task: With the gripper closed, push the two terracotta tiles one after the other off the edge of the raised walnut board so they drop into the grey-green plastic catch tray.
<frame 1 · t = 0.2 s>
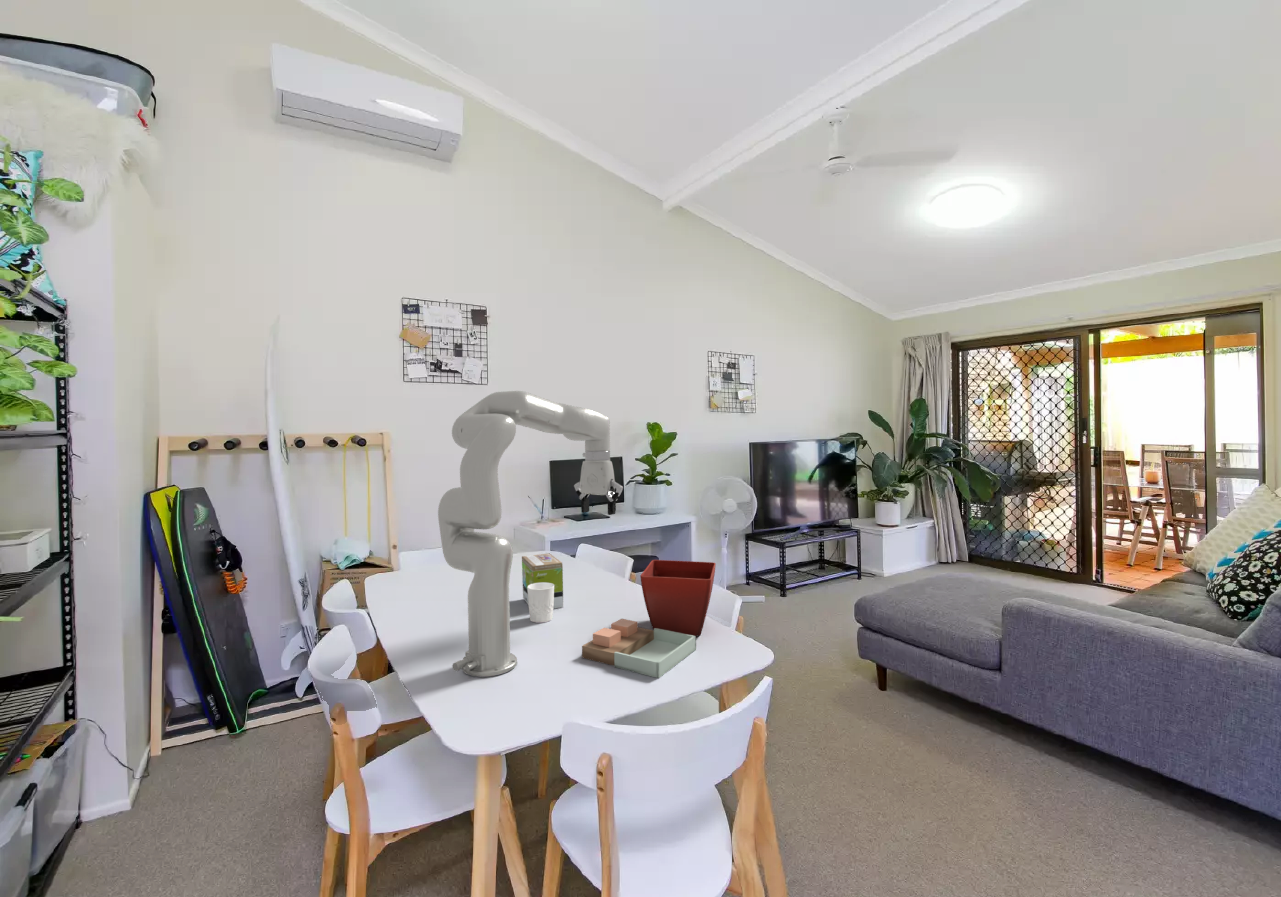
hand: (598, 513, 172), 31 cm above the table, fingers open, 9 cm apart
tray: (656, 658, 139), on the table
tile b: (624, 632, 149), point 3 cm above the table, touching board
board: (619, 649, 145), on the table
plant pot: (679, 628, 161), on the table
tile a: (606, 642, 142), point 3 cm above the table, touching board
white cup: (541, 619, 169), on the table
tea box: (542, 604, 185), on the table
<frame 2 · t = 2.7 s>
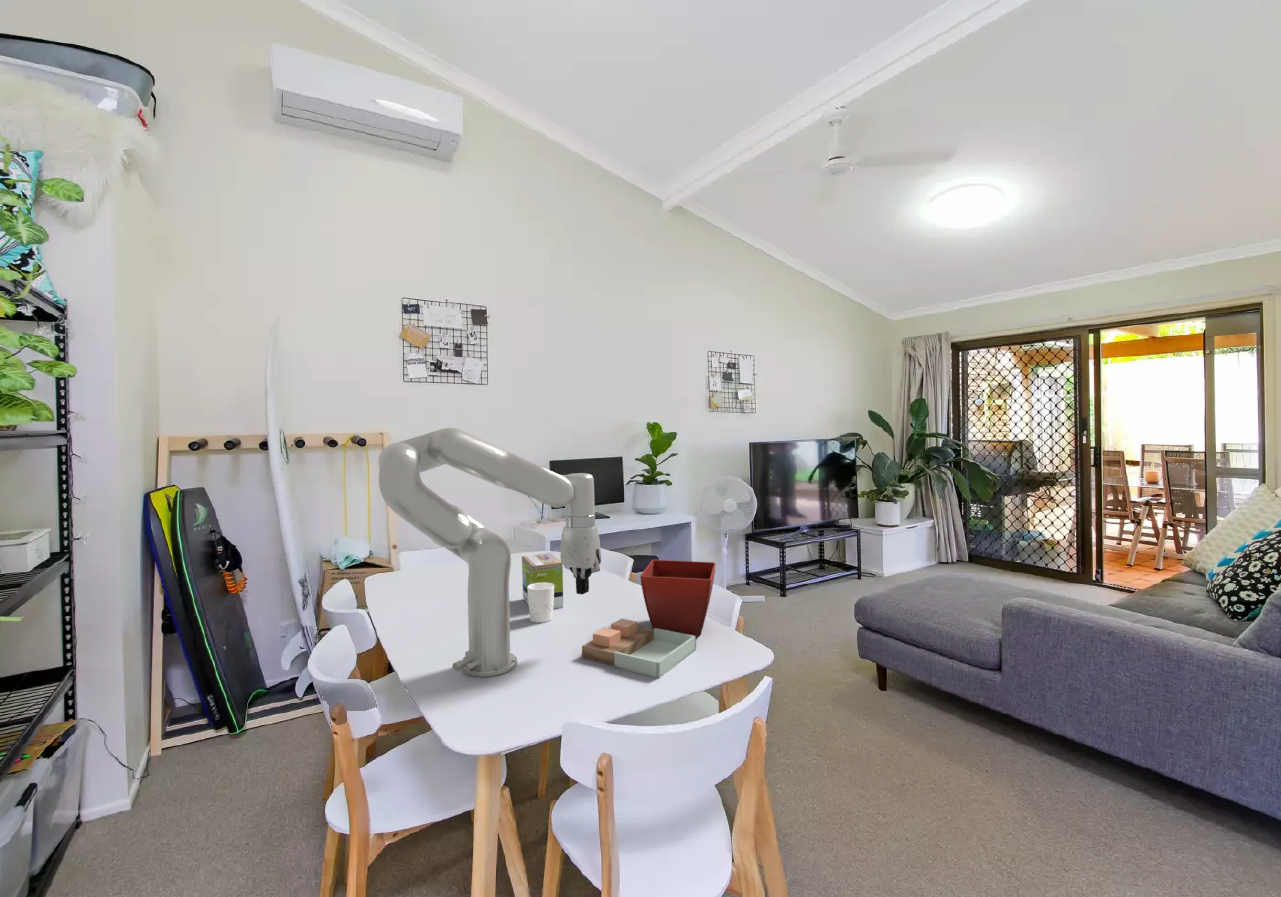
hand: (582, 592, 146), 14 cm above the table, fingers closed
nothing on the table moved.
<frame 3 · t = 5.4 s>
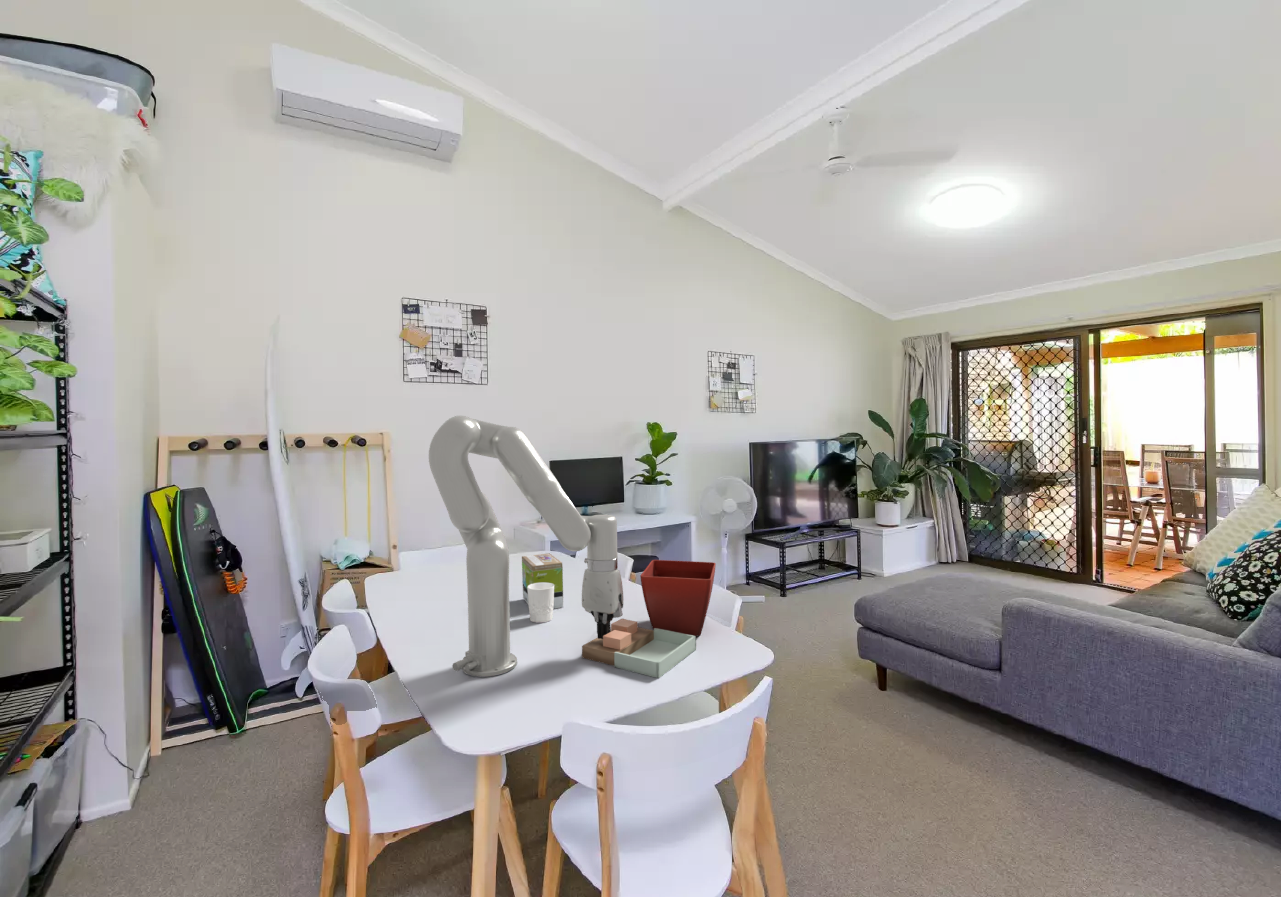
hand: (603, 637, 143), 4 cm above the table, fingers closed
tile a: (617, 644, 140), point 3 cm above the table
everything else where it was.
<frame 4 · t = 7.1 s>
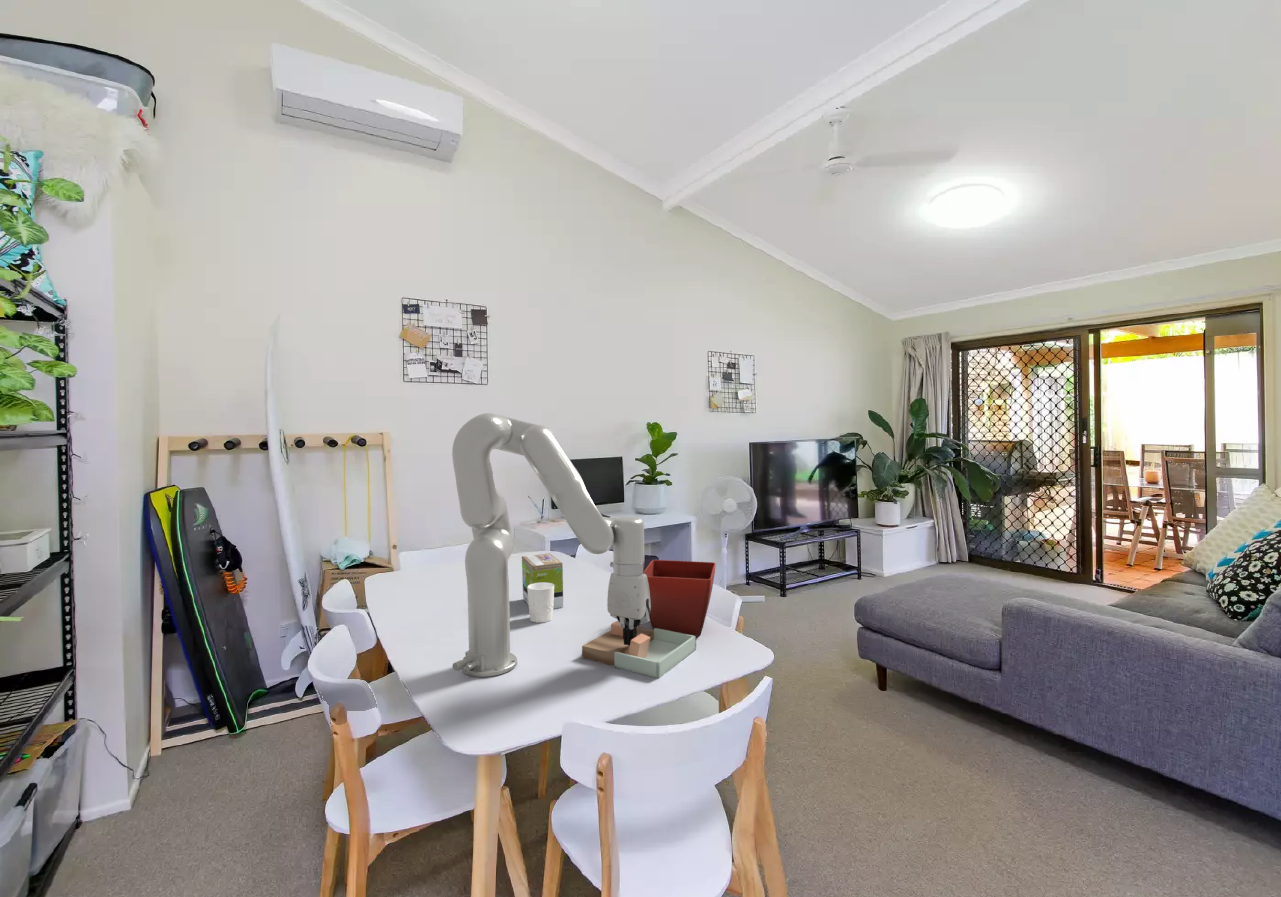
hand: (630, 643, 139), 4 cm above the table, fingers closed
tile a: (634, 646, 138), point 4 cm above the table, tilted 102°, touching gripper, tray
everything else where it was.
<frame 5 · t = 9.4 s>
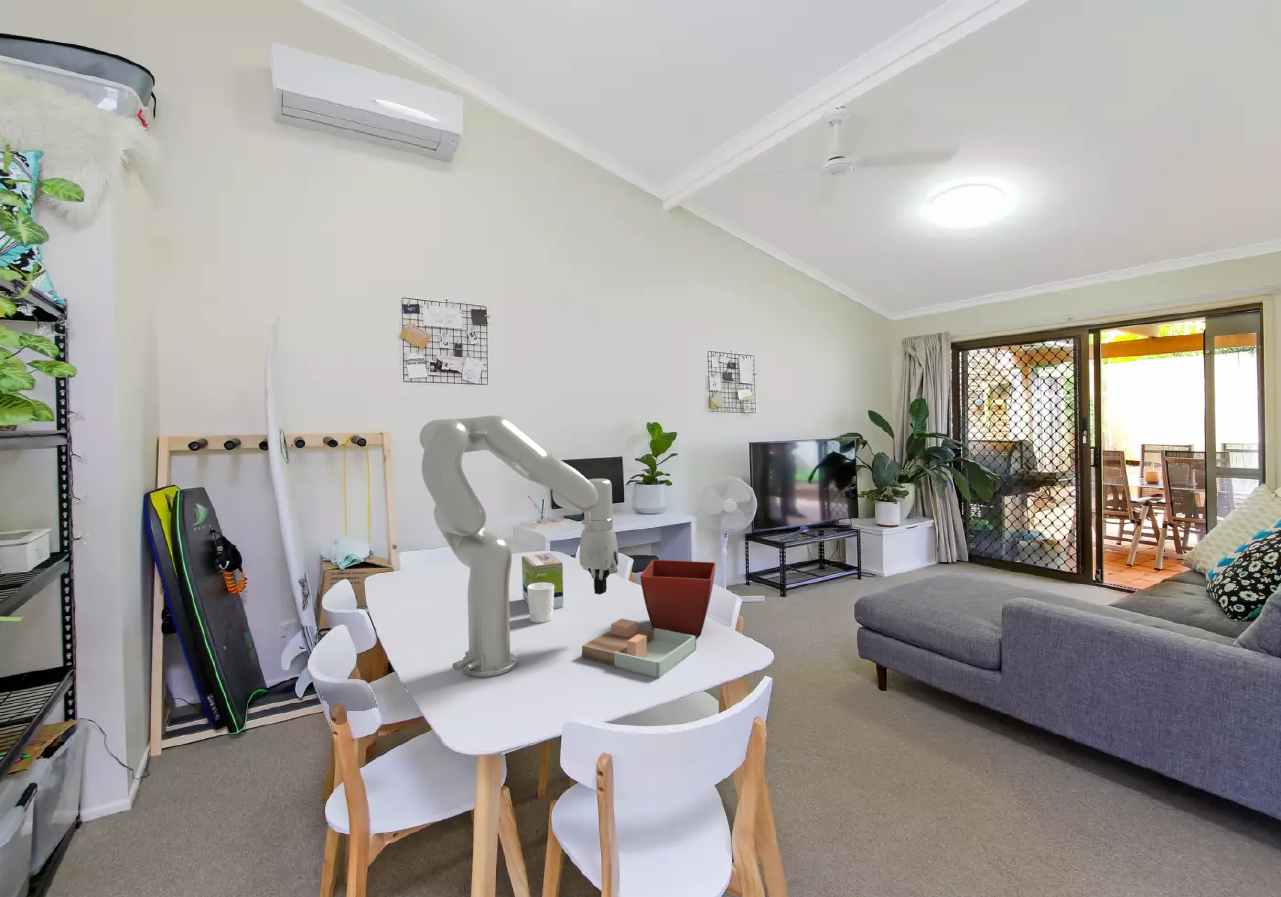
hand: (600, 592, 153), 12 cm above the table, fingers closed
tile a: (632, 647, 138), point 3 cm above the table, tilted 90°, touching tray
everything else where it was.
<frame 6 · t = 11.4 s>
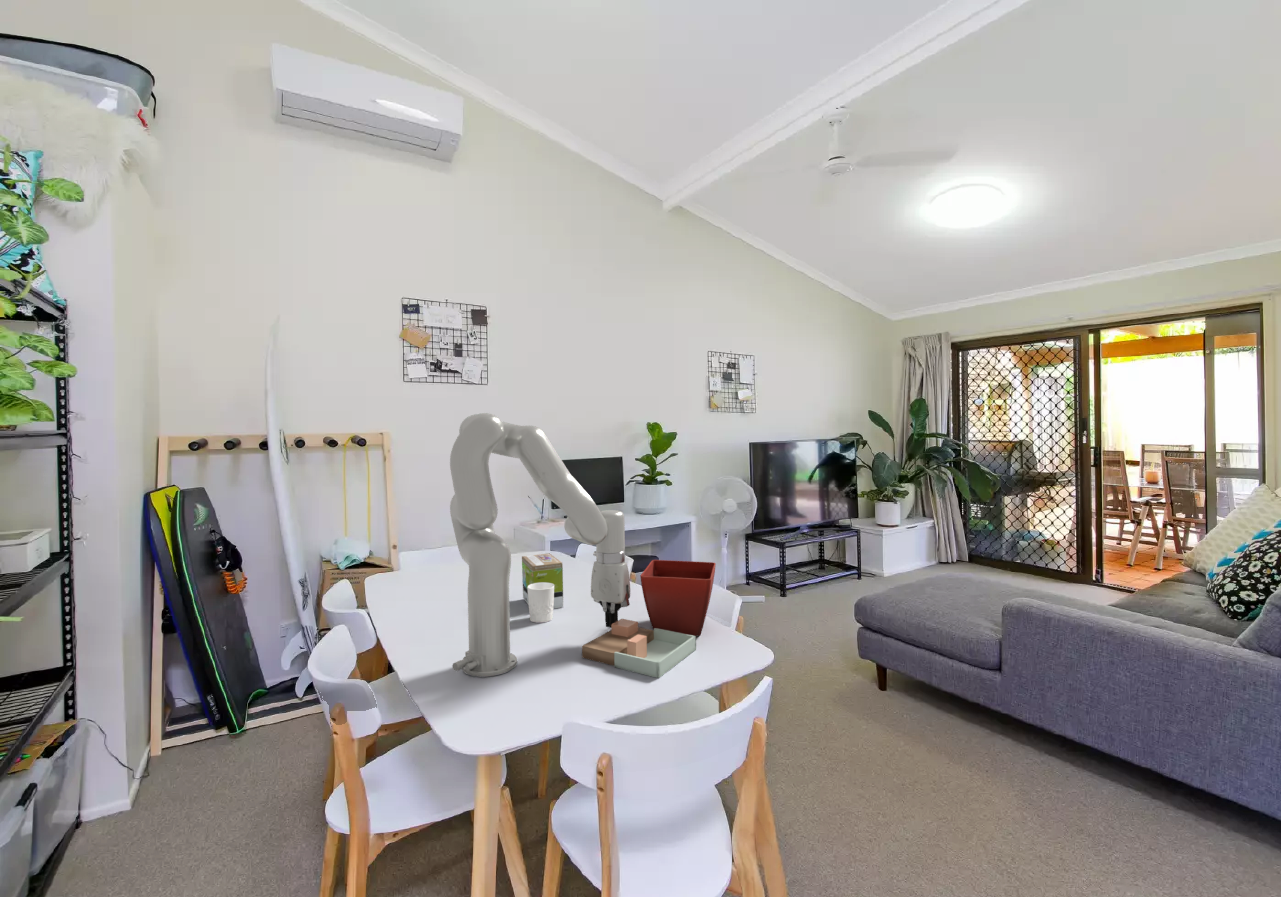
hand: (611, 625, 151), 4 cm above the table, fingers closed
tile b: (624, 632, 149), point 3 cm above the table, touching board, gripper
everything else where it was.
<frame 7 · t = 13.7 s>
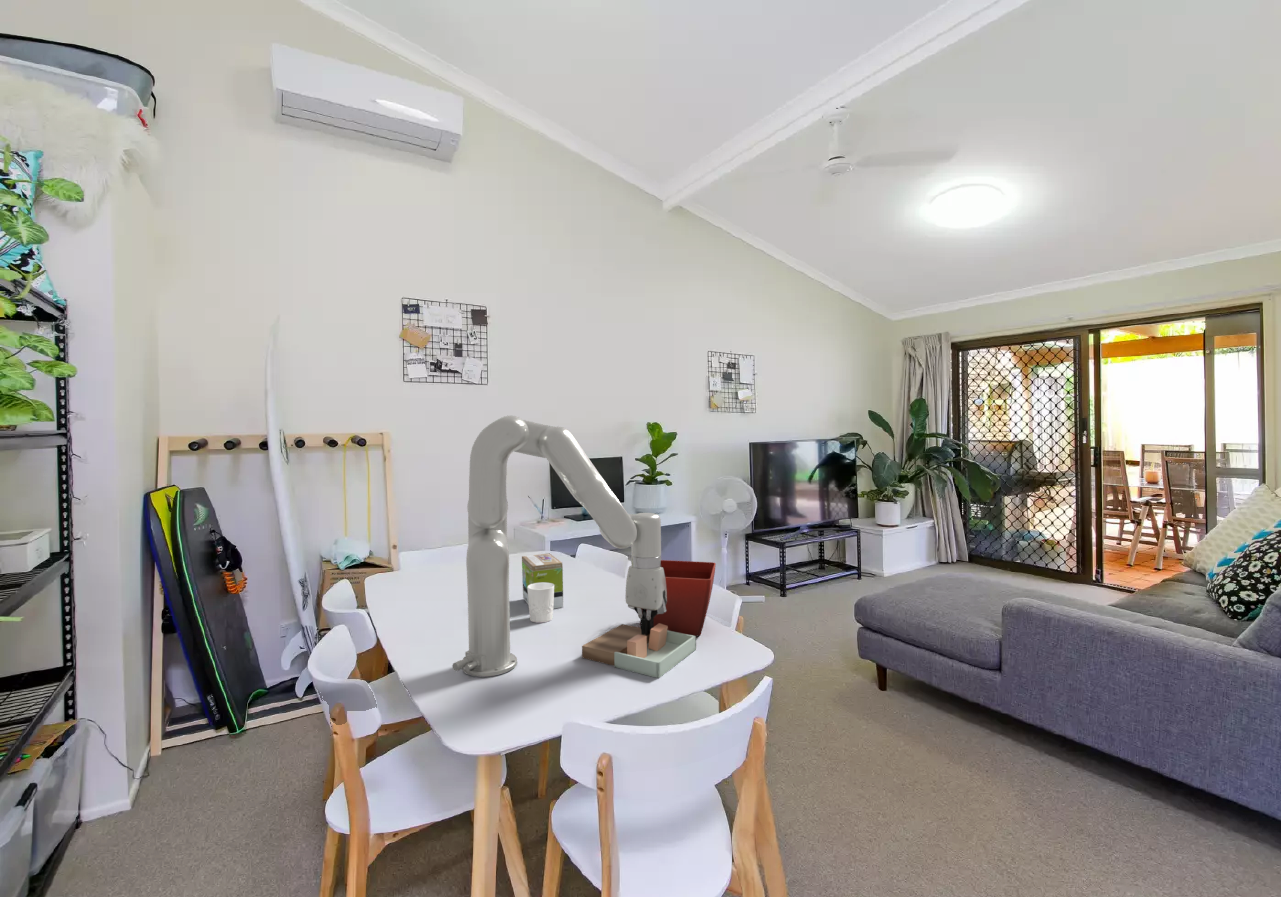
hand: (647, 633, 145), 4 cm above the table, fingers closed
tile b: (653, 635, 145), point 3 cm above the table, tilted 98°, touching gripper, tray
everything else where it was.
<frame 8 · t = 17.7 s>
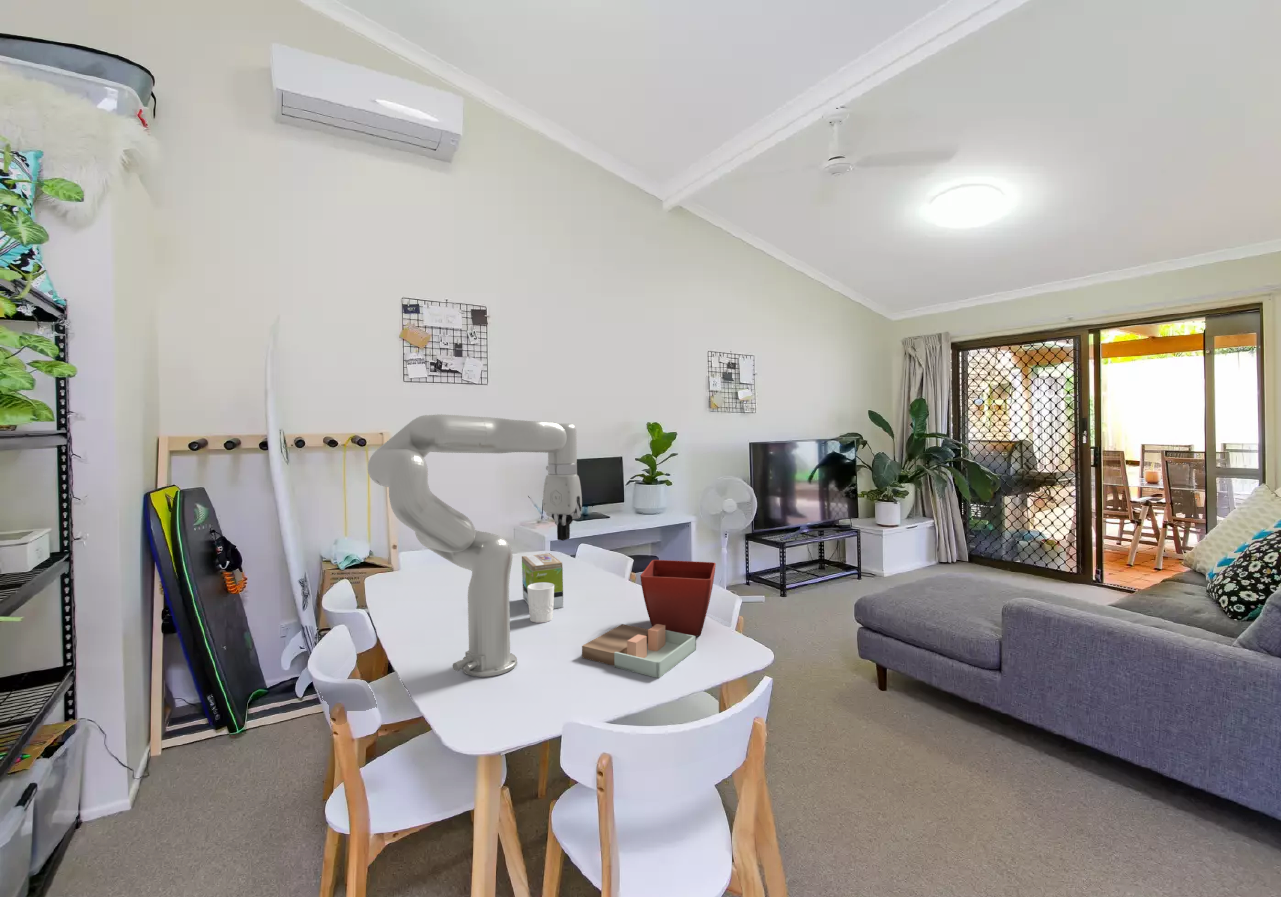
hand: (563, 539, 151), 27 cm above the table, fingers closed
tile b: (652, 636, 145), point 3 cm above the table, tilted 90°, touching tray
everything else where it was.
at the end: tile a inside the target area on the tray (5.8 cm from its centre), point 3.1 cm above the tray's base; tile b inside the target area on the tray (6.1 cm from its centre), point 3.1 cm above the tray's base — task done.
